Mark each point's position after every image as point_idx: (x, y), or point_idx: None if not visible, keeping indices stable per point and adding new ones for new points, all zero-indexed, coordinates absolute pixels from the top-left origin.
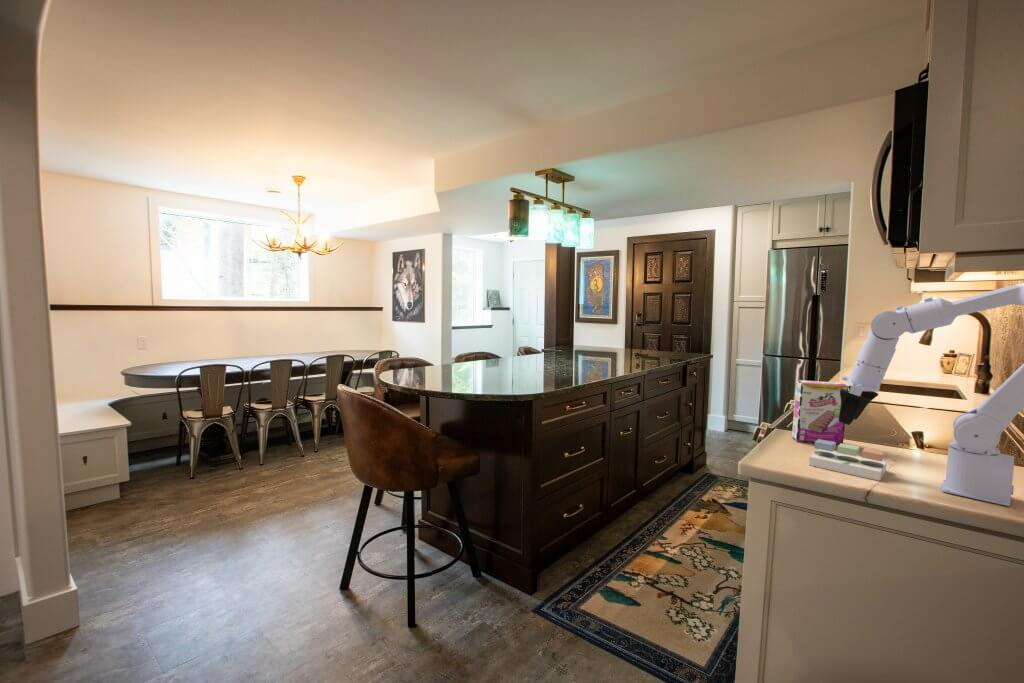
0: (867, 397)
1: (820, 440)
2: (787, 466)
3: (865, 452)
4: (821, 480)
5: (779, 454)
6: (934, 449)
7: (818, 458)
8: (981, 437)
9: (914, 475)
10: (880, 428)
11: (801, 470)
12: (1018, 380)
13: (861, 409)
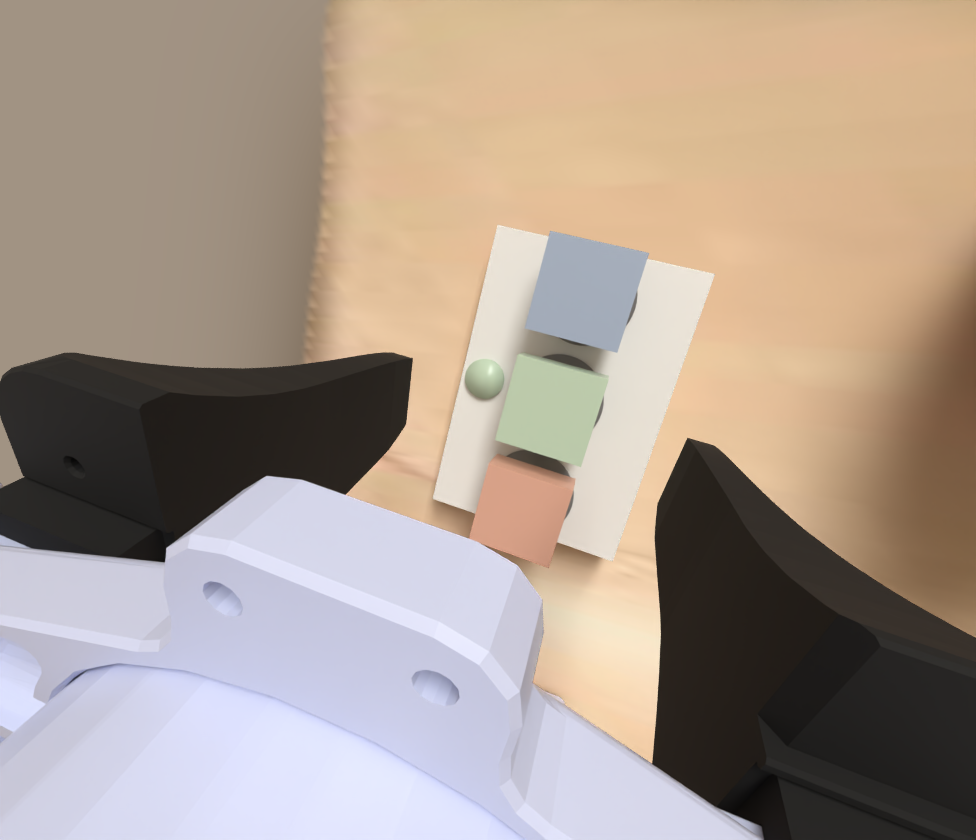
0: (676, 747)
1: (610, 264)
2: (431, 141)
3: (486, 475)
4: (325, 283)
5: (635, 73)
6: None
7: (489, 267)
8: None
9: (605, 629)
10: None
11: (407, 205)
12: None
13: (665, 589)
